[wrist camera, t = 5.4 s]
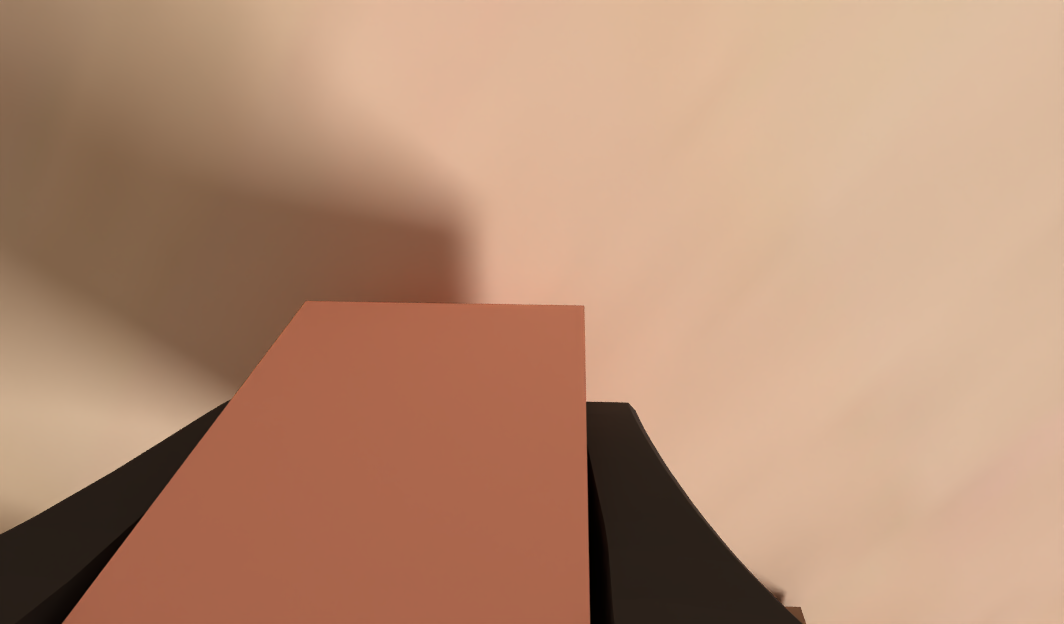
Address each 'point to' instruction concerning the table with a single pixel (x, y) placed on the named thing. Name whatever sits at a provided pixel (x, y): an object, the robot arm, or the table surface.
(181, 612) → the block
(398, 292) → the table surface
